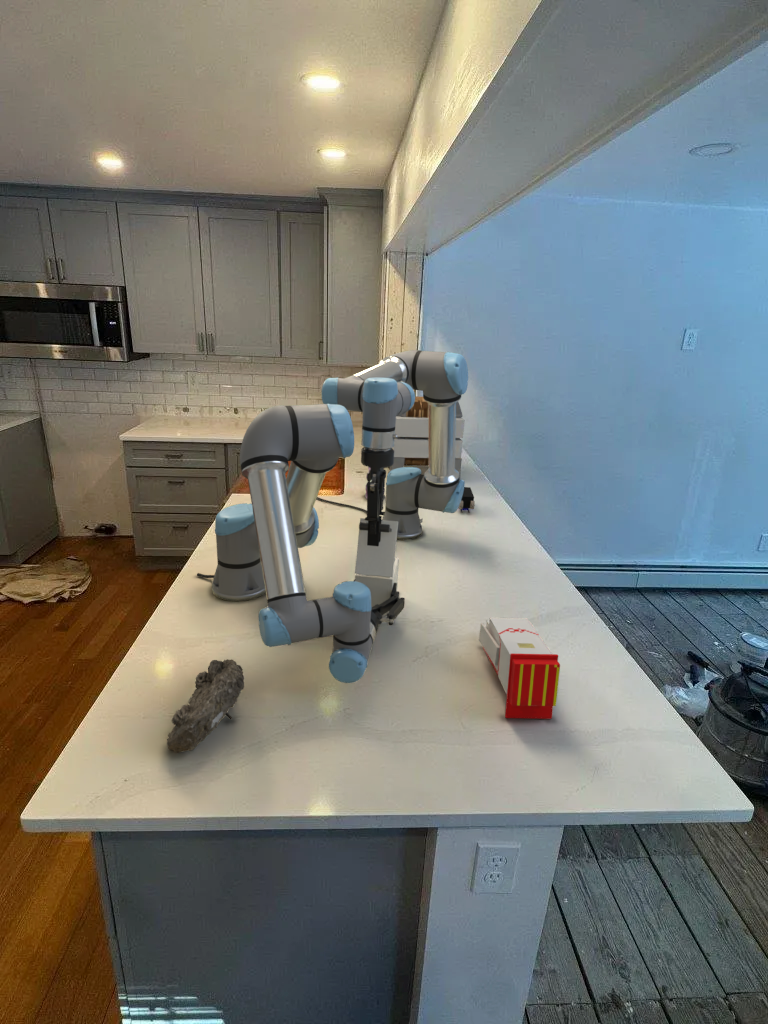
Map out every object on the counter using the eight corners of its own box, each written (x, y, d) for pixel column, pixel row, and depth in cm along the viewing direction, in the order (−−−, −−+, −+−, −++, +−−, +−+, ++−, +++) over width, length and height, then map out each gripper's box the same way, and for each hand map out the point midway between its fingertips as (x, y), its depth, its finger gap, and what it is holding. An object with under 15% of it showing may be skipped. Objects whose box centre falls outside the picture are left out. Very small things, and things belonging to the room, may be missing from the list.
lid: (361, 518, 145) (355, 515, 135) (398, 521, 143) (394, 518, 134) (355, 573, 143) (349, 573, 134) (392, 577, 142) (389, 577, 133)
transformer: (382, 463, 289) (386, 382, 275) (445, 464, 293) (451, 384, 279) (390, 482, 257) (394, 392, 243) (460, 483, 261) (468, 394, 247)
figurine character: (474, 518, 222) (469, 501, 235) (476, 500, 218) (471, 485, 232) (457, 517, 222) (452, 501, 235) (459, 500, 218) (454, 484, 232)
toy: (525, 603, 136) (569, 660, 107) (520, 654, 139) (562, 725, 109) (475, 601, 135) (505, 659, 106) (471, 653, 138) (499, 724, 109)
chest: (363, 589, 159) (364, 553, 155) (397, 592, 158) (398, 557, 154) (354, 613, 147) (355, 575, 143) (390, 617, 146) (392, 579, 142)
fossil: (192, 660, 117) (244, 628, 112) (224, 691, 120) (276, 661, 115) (142, 746, 98) (202, 712, 93) (182, 779, 101) (242, 748, 96)
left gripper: (311, 639, 129) (333, 593, 150) (408, 650, 126) (417, 602, 147) (311, 610, 127) (334, 568, 148) (410, 621, 124) (418, 576, 145)
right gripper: (389, 456, 122) (384, 557, 129) (398, 442, 136) (393, 533, 143) (355, 454, 122) (352, 553, 130) (367, 439, 136) (364, 530, 144)
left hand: (375, 585), depth 147 cm, fingers closed on chest, 9 cm apart
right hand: (373, 543), depth 137 cm, fingers closed on lid, 2 cm apart
